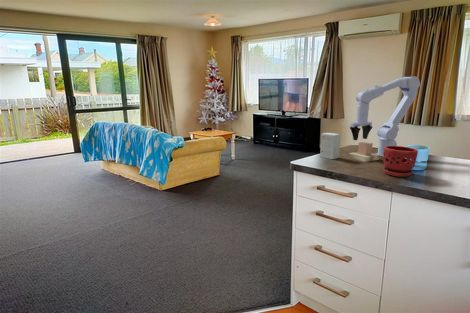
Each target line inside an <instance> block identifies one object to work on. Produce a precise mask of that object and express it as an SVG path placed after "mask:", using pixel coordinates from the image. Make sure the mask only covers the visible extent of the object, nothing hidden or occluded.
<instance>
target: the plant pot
mask: <svg viewBox="0 0 470 313" xmlns="http://www.w3.org/2000/svg"><path fill="white" fill-rule="evenodd" d="M418 152H419V150H418V149H416V148H413V147H410V146H409V147H408V146H403V145H401V146H400V145H397V146H385V147H384V154H383V156H382V159H383V164H384V167H383V169H382V170H383V172H384V173H385V174H387V175H389V176H392V177H399V178H403V177H409V176H411V175H412V174H413V171H412V169H413V168H414V166H415V164H416V162H417V157H418Z"/></svg>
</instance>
